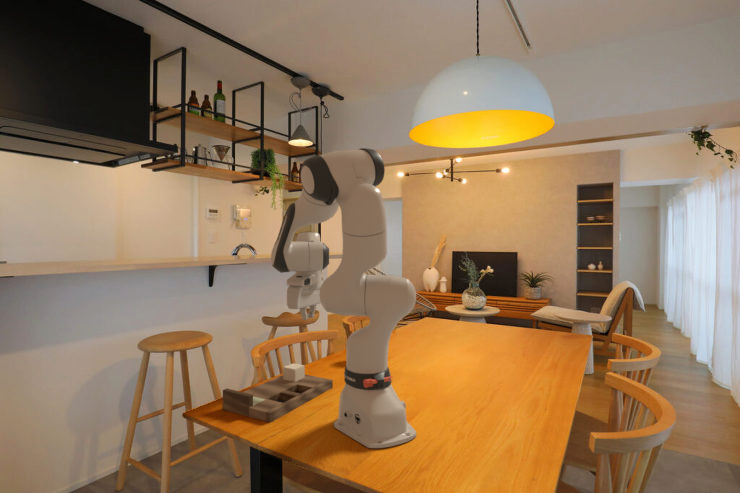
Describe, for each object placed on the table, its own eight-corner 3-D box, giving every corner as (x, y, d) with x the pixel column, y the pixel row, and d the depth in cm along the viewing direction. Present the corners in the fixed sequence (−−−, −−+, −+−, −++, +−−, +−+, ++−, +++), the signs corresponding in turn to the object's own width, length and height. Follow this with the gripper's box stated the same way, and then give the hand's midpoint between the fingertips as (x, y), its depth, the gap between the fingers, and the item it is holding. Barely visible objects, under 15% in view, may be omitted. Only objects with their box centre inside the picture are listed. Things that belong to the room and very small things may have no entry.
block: (292, 375, 139) (292, 363, 139) (304, 377, 137) (304, 365, 137) (283, 379, 135) (283, 367, 135) (295, 381, 133) (295, 369, 133)
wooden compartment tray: (290, 378, 143) (290, 363, 143) (332, 387, 135) (332, 370, 135) (222, 409, 116) (222, 390, 116) (270, 422, 108) (270, 401, 108)
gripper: (316, 276, 153) (315, 313, 153) (283, 280, 134) (283, 322, 134) (331, 276, 150) (330, 314, 151) (299, 281, 132) (299, 324, 132)
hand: (308, 318), depth 142 cm, fingers open, 2 cm apart
